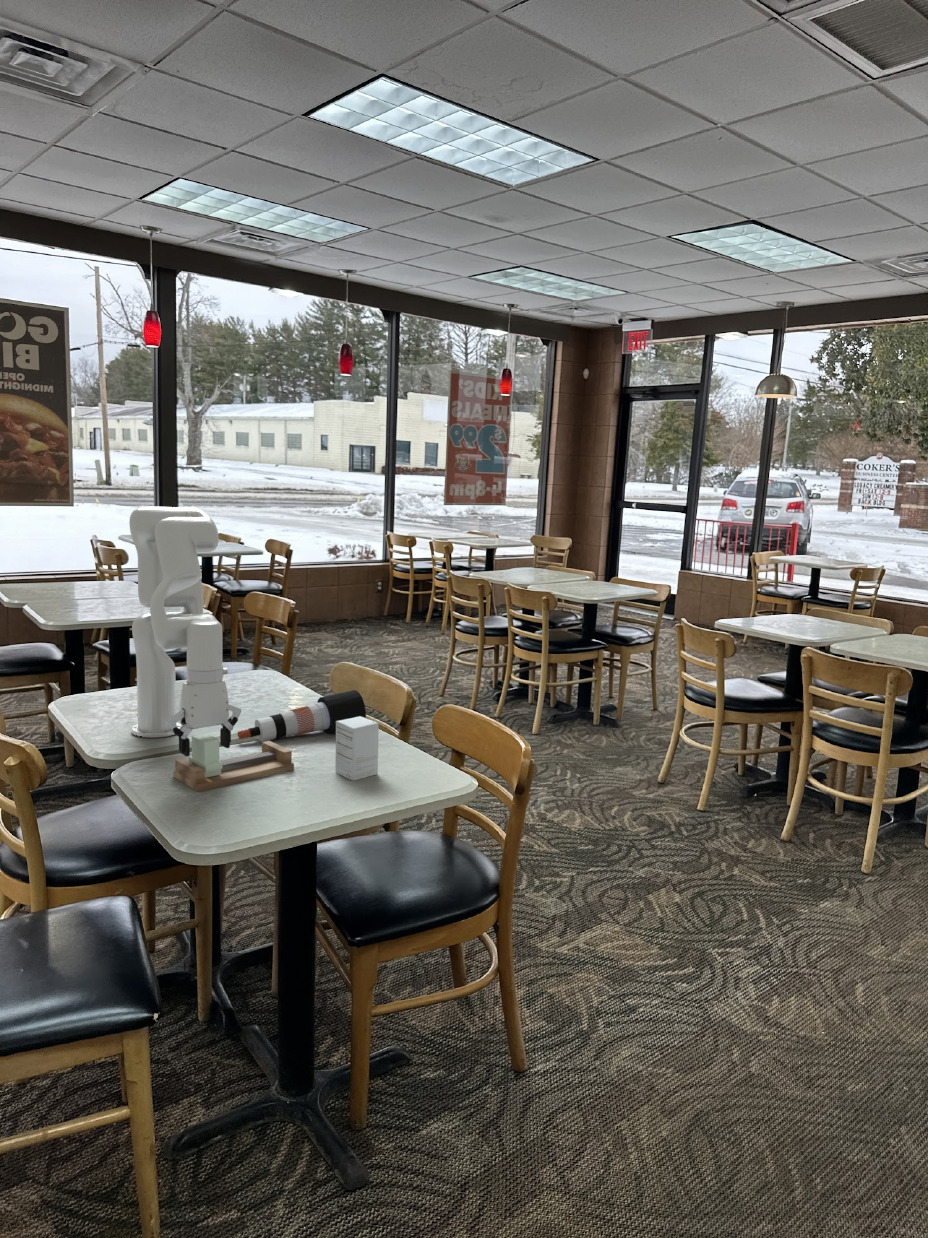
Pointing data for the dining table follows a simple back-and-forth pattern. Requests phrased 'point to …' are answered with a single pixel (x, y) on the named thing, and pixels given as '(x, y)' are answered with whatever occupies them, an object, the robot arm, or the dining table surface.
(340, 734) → the supplement box
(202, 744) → the block
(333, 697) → the white black stepped cylinder
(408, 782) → the dining table surface
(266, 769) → the rail board
